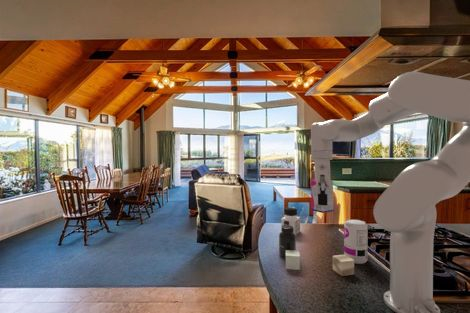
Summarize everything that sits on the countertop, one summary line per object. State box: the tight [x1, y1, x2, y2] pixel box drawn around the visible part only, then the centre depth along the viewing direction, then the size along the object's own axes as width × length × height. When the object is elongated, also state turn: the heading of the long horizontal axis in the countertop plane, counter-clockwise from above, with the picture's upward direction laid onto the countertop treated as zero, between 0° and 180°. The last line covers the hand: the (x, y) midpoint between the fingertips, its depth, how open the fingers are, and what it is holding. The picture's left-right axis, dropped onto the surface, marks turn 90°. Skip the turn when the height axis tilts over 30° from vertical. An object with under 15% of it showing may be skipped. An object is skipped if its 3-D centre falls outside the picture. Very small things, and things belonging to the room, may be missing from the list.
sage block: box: [285, 250, 301, 271], centre depth 92 cm, size 5×5×5 cm
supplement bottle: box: [278, 225, 297, 259], centre depth 102 cm, size 7×7×12 cm
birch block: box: [332, 253, 355, 277], centre depth 88 cm, size 5×5×5 cm
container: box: [280, 206, 301, 236], centre depth 130 cm, size 8×8×13 cm
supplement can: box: [343, 218, 368, 265], centre depth 97 cm, size 8×8×15 cm
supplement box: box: [310, 179, 334, 214], centre depth 92 cm, size 6×6×12 cm
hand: (322, 202), depth 92 cm, fingers closed on supplement box, 8 cm apart
